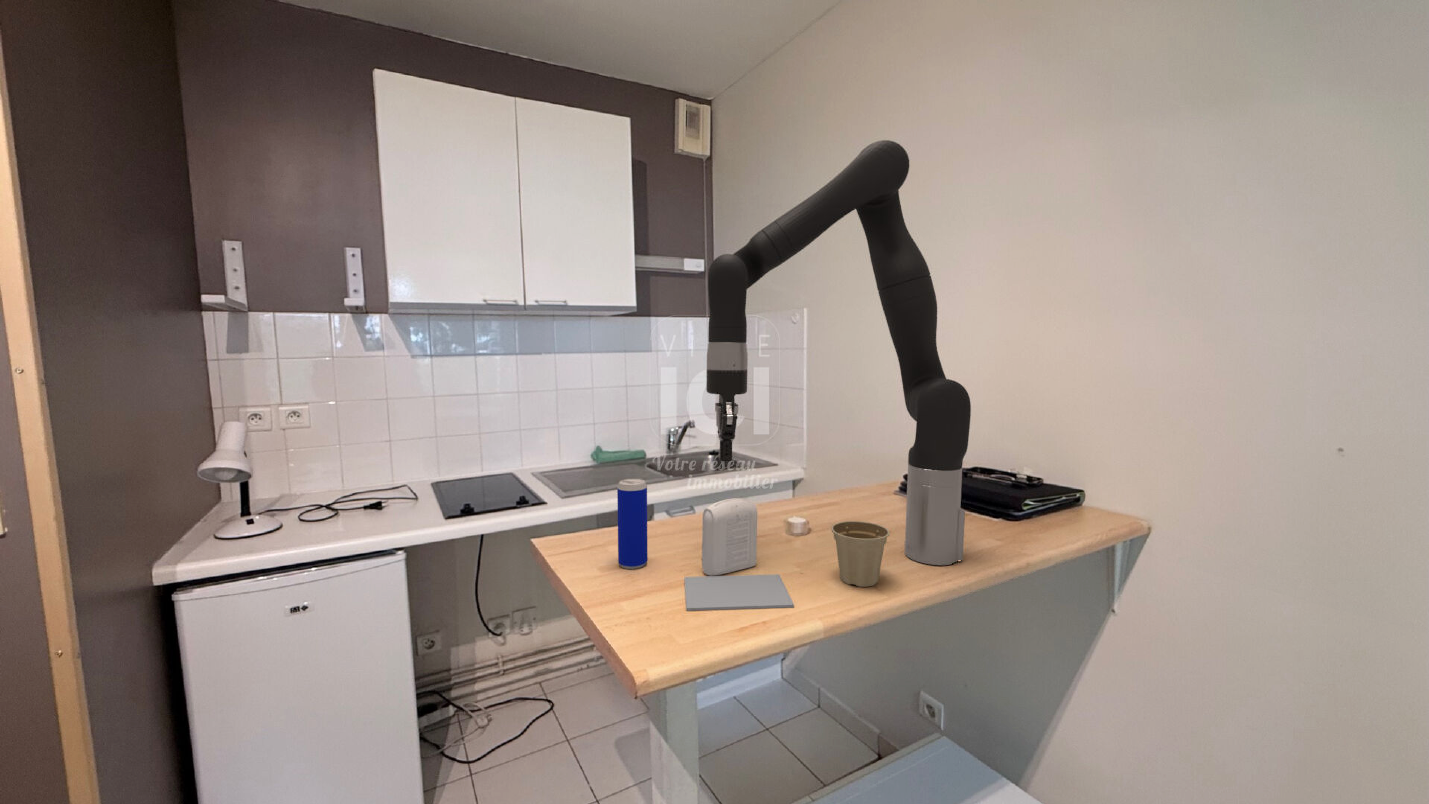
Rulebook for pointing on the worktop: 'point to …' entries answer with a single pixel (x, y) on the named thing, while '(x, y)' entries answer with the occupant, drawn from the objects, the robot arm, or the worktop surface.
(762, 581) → the mat
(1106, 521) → the worktop surface
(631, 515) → the beverage can
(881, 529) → the flower pot
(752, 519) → the photo printer
